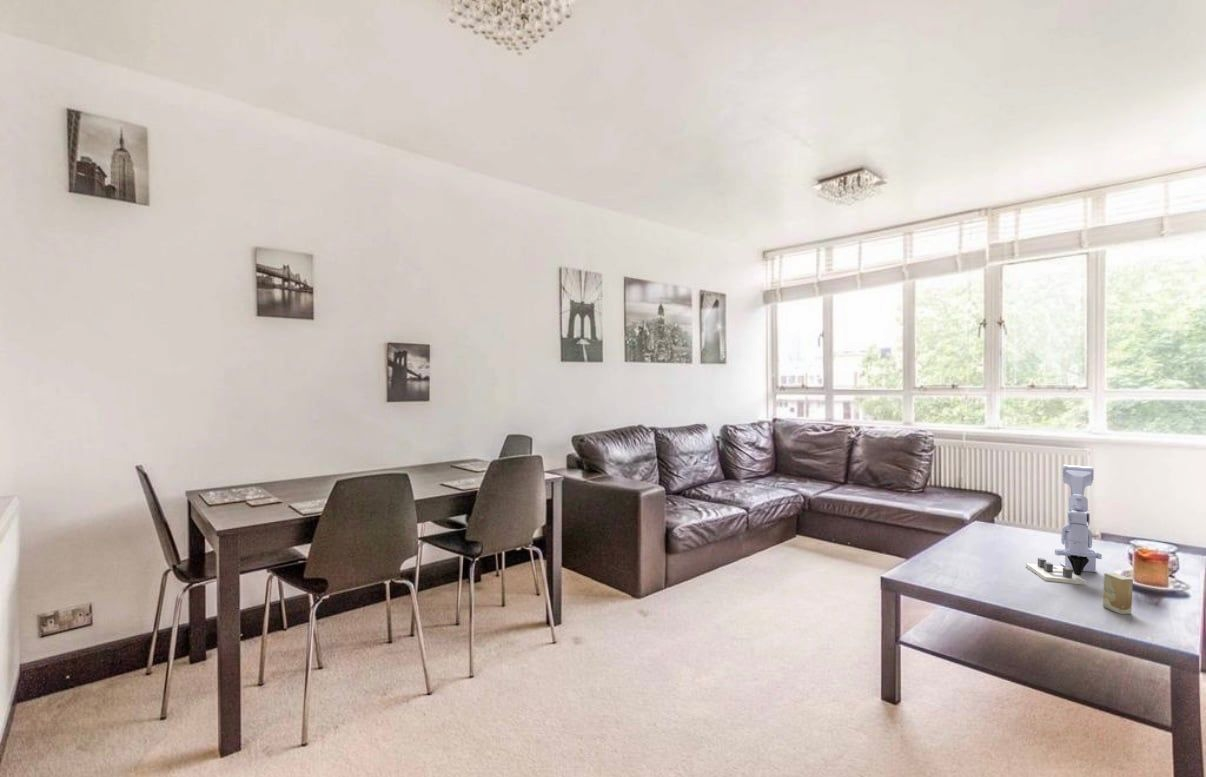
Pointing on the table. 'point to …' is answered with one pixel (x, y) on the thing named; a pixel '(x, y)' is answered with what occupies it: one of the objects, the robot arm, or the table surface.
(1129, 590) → the skincare box
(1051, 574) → the breaker panel
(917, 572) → the table surface
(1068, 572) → the breaker
